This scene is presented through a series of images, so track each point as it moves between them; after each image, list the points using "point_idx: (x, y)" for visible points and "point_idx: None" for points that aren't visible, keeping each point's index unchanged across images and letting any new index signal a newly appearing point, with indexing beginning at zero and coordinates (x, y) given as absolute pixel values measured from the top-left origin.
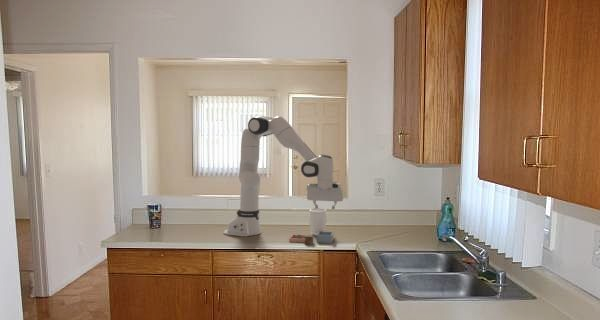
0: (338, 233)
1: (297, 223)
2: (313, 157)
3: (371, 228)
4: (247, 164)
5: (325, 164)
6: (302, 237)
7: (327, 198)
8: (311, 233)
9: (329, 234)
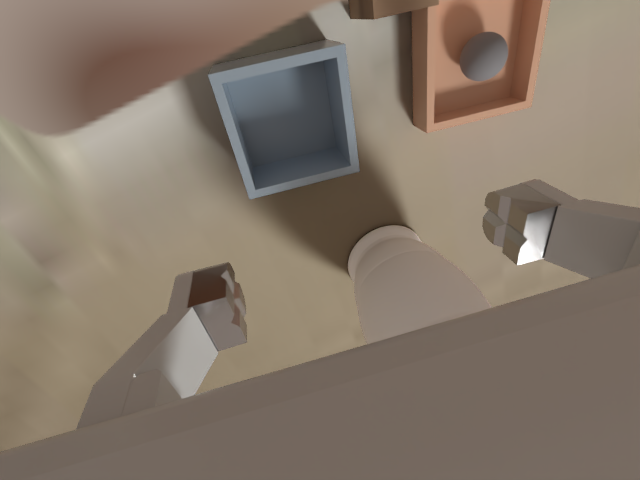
0: (285, 317)
1: None
2: None
3: None
4: None
5: None
6: (454, 112)
7: (377, 422)
8: (417, 236)
9: (275, 177)
